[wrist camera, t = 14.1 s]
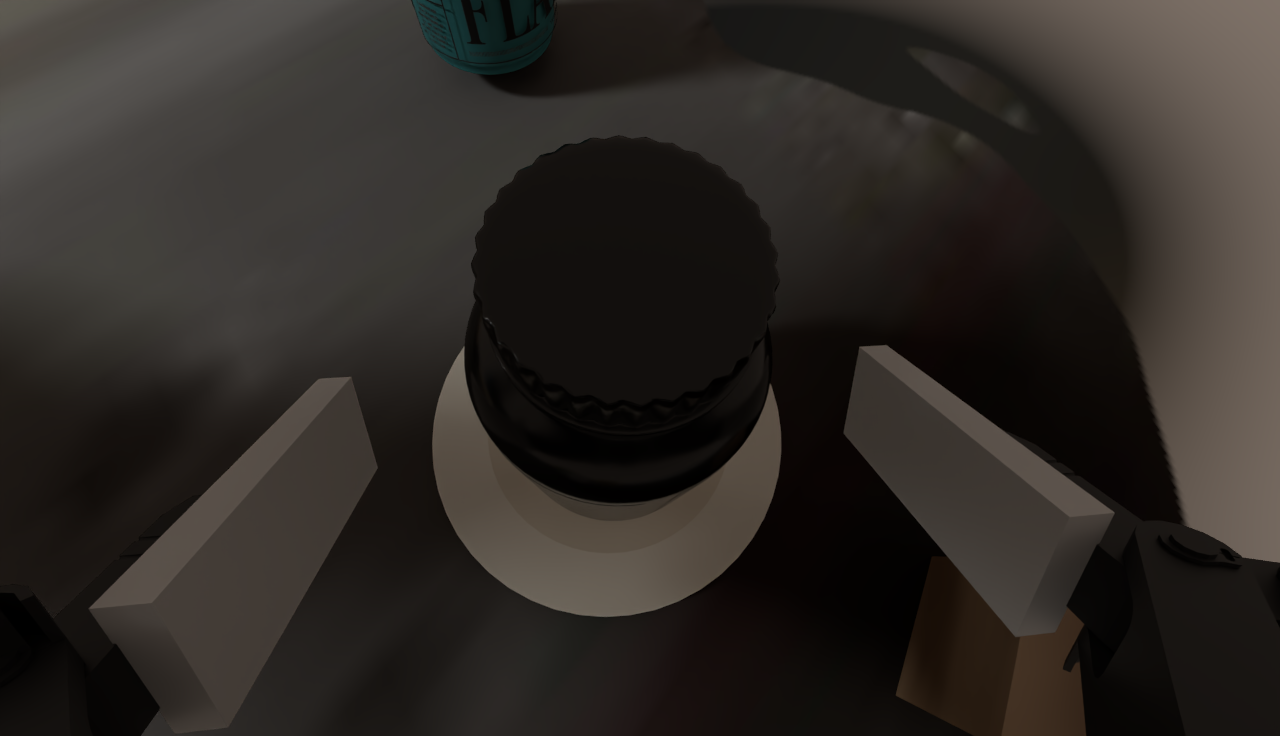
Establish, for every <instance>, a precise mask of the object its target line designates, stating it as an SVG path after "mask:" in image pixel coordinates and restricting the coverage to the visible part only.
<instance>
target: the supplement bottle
mask: <svg viewBox="0 0 1280 736" xmlns="http://www.w3.org/2000/svg"><path fill="white" fill-rule="evenodd" d="M475 242H476V248H477V251H476V253H475V255H474V257H473V260H472V262H471V268H472V271H473V274H474V276H475V278H476V280H475V284H474V290H473V293H474V298H475V300H476V301H475V304H474V306H473V308H472V312H471V315H470V318H469V321H468V326H467V331H466V336H465V346H464V368H465V376H466V383H467V387H468V391H469V395H470V399H471V401H472V404H473V407H474V410H475V412H476V414H477V416H478V418H479V420H480V422H481V424H482V426H483V428H484V429H485V431H486V432H487V434H488V436H489V437H490V439H491V440H492V442H493V443H494V444H495V446H496V447H497V448H498V449H499V451H500V452H501V453H502V454H503V455H504V456H505V457H506V459H507V460H508V461H509V462H510V463H511V464H512V465H513V466H514V467H515V468H516V469H518V470H519V471H520V472H521V473H522V474H523V475H524V476H526V477H527V478H528V479H529V480H530V481H531V482H532V483H533V484H535V485H536V486H537V487H538V488H539V489H540V490H541V491H543V492H544V493H545V494H546V495H547V496H548V497H550V498H551V499H552V500H553V501H555V502H556V503H558V504H559V505H561V506H562V507H564V508H566V509H568V510H569V511H571V512H573V513H576V514H578V515H581V516H584V517H587V518H591V519H596V520H603V521H623V520H631V519H635V518H639V517H642V516H645V515H648V514H651V513H653V512H655V511H657V510H659V509H661V508H663V507H665V506H667V505H668V504H670V503H671V502H673V501H675V500H676V499H678V498H679V497H681V496H682V495H684V494H685V493H687V492H689V491H690V490H692V489H693V488H695V487H696V486H698V485H699V484H701V483H703V482H704V481H705V480H707V479H708V478H709V477H711V476H712V475H713V474H715V473H716V472H717V471H719V470H720V469H721V468H722V467H723V466H724V465H725V464H726V463H727V462H728V461H729V460H730V459H731V458H732V457H733V456H734V455H735V454H736V452H737V451H738V450H739V449H740V448H741V447H742V446H743V444H744V443H745V441H746V440H747V438H748V437H749V436H750V434H751V433H752V431H753V429H754V427H755V425H756V424H757V422H758V420H759V418H760V415H761V413H762V411H763V408H764V405H765V402H766V399H767V395H768V391H769V386H770V381H771V374H772V345H771V336H770V332H769V327H768V323H767V321H768V320H769V318H770V317H771V316H772V314H773V313H774V311H775V308H776V299H775V291H776V289H777V287H778V285H779V281H780V278H779V274H778V271H777V269H776V266H775V264H776V261H777V256H778V252H777V250H776V248H775V247H774V245H773V244H772V242H771V228H770V227H769V226H768V224H767V223H766V222H765V221H764V220H763V219H762V218H761V216H760V210H759V206H758V204H756V203H755V202H754V201H753V200H752V199H750V198H749V197H748V196H747V195H746V193H745V190H744V188H743V186H742V184H740V183H738V182H737V181H735V180H733V179H731V178H729V177H728V176H727V174H726V172H725V171H724V170H723V168H722V167H720V166H718V165H715V164H712V163H709V162H707V161H706V160H705V159H704V158H703V157H702V156H701V155H700V154H699V153H696V152H691V151H685V150H683V149H681V148H680V147H679V146H677V145H675V144H674V143H659V142H657V141H654V140H652V139H650V138H647V137H641V138H634V139H631V138H627V137H624V136H620V135H618V136H614V137H611V138H608V139H600V138H590V139H587V140H585V141H583V142H581V143H579V144H564V145H563V146H561V147H560V148H559V149H557V150H556V151H555V152H552V153H547V154H543V155H540V156H539V157H538V158H537V159H536V160H535V162H534V163H533V164H532V165H530V166H528V167H525V168H523V169H521V170H519V171H518V172H517V173H516V175H515V177H514V179H513V181H512V182H511V183H509V184H507V185H506V186H504V187H503V188H501V189H500V190H499V192H498V195H497V200H496V202H495V203H494V204H493V205H491V206H490V207H489V208H488V209H487V210H486V211H485V214H484V225H483V227H482V228H481V229H480V230H479V232H478V233H477V235H476V236H475Z"/></svg>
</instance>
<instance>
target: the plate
mask: <svg viewBox="0 0 1280 736" xmlns="http://www.w3.org/2000/svg"><path fill="white" fill-rule="evenodd" d="M432 451H433V467H434V473H435V478H436V483H437V488H438V492H439V495H440V497H441V500H442V503H443V506H444V509H445V512H446V514H447V516H448V518H449V520H450V522H451V524H452V526H453V528H454V529H455V531H456V533H457V535H458V536H459V538H460V539H461V541H462V542H463V543H464V545H465V546H466V548H467V549H468V550H469V552H470V553H471V555H472V556H473V557H474V558H475V559H476V560H477V561H478V562H479V563H480V564H481V565H482V566H483V567H484V568H485V569H486V570H487V571H488V572H489V573H490V574H491V575H493V576H494V577H495V578H497V579H498V580H499V581H500V582H502V583H503V584H504V585H506V586H507V587H508V588H510V589H512V590H513V591H515V592H517V593H519V594H520V595H522V596H524V597H526V598H528V599H529V600H531V601H534V602H537V603H539V604H542V605H544V606H547V607H549V608H552V609H555V610H559V611H564V612H568V613H573V614H577V615H586V616H598V617H612V616H627V615H634V614H639V613H643V612H648V611H653V610H656V609H659V608H662V607H664V606H667V605H670V604H673V603H675V602H678V601H680V600H682V599H684V598H686V597H687V596H689V595H691V594H693V593H695V592H697V591H699V590H700V589H702V588H703V587H705V586H706V585H707V584H709V583H710V582H711V581H713V580H714V579H715V578H717V577H718V576H720V575H721V574H722V573H723V572H724V571H725V570H726V569H727V568H728V567H729V566H730V565H731V564H732V563H733V562H734V561H735V560H736V559H737V558H738V557H739V556H740V554H741V553H742V552H743V550H744V549H745V548H746V547H747V545H748V544H749V543H750V541H751V540H752V539H753V537H754V535H755V533H756V532H757V530H758V528H759V527H760V525H761V523H762V521H763V520H764V518H765V515H766V513H767V510H768V508H769V505H770V503H771V500H772V498H773V494H774V491H775V487H776V483H777V479H778V475H779V467H780V458H781V428H780V421H779V414H778V408H777V404H776V400H775V397H774V393H773V390H772V387H771V384H770V386H769V391H768V395H767V399H766V402H765V405H764V408H763V411H762V413H761V415H760V418H759V420H758V422H757V424H756V425H755V427H754V429H753V431H752V433H751V434H750V436H749V437H748V438H747V440H746V441H745V443H744V444H743V446H742V447H741V448H740V449H739V450H738V451H737V452H736V454H735V455H734V456H733V457H732V458H731V459H730V460H729V461H728V462H727V463H726V464H725V465H724V466H723V467H722V468H721V469H720V470H719V471H717V472H716V473H715V474H713V475H712V476H711V477H709V478H708V479H707V480H705V481H704V482H703V483H701V484H699V485H698V486H696V487H695V488H693V489H692V490H690V491H689V492H687V493H685V494H684V495H682V496H681V497H679V498H678V499H676V500H675V501H673V502H671V503H670V504H668V505H667V506H665V507H663V508H661V509H659V510H657V511H655V512H653V513H651V514H648V515H645V516H642V517H639V518H635V519H631V520H623V521H603V520H596V519H591V518H587V517H584V516H581V515H578V514H576V513H573V512H571V511H569V510H568V509H566V508H564V507H562V506H561V505H559V504H558V503H556V502H555V501H553V500H552V499H551V498H550V497H548V496H547V495H546V494H545V493H544V492H543V491H541V490H540V489H539V488H538V487H537V486H536V485H535V484H533V483H532V482H531V481H530V480H529V479H528V478H527V477H526V476H524V475H523V474H522V473H521V472H520V471H519V470H518V469H516V468H515V467H514V466H513V465H512V464H511V463H510V462H509V461H508V460H507V459H506V457H505V456H504V455H503V454H502V453H501V452H500V451H499V449H498V448H497V447H496V446H495V444H494V443H493V442H492V440H491V439H490V437H489V436H488V434H487V432H486V431H485V429H484V428H483V426H482V424H481V422H480V420H479V418H478V416H477V414H476V412H475V410H474V407H473V404H472V401H471V399H470V395H469V391H468V387H467V383H466V376H465V368H464V348H463V349H462V351H461V352H460V353H459V355H458V356H457V358H456V360H455V362H454V364H453V366H452V368H451V369H450V371H449V373H448V375H447V377H446V380H445V383H444V385H443V388H442V391H441V394H440V397H439V400H438V404H437V409H436V414H435V418H434V426H433V439H432Z"/></svg>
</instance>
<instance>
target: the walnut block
mask: <svg viewBox="0 0 1280 736" xmlns="http://www.w3.org/2000/svg"><path fill="white" fill-rule="evenodd" d="M1083 625H1084V623H1083V622H1082V621H1081V620H1080V619H1079V618H1078V617H1077V616H1076V615H1075V614H1074V613H1073V612H1072V611H1071V610H1070V609H1069V608H1067V610H1066V612H1065V614H1064V616H1063V618H1062V620H1061V622H1060V624H1059V626H1058V628H1057V630H1056V632H1055V633H1046V634H1037V635H1028V636H1020V637H1015V636H1014V635H1013V634H1012V632H1011V631H1010V630H1009V629H1008V628H1007V626H1006V625H1005V624H1004V623H1003V622H1002V620H1001V619H1000V618H999V617H998V616H997V615H996V613H995V612H994V611H993V610H992V609H991V607H990V606H989V605H988V604H987V603H986V602H985V600H984V599H983V598H982V597H981V596H980V594H979V593H978V592H977V591H976V590H975V588H974V587H973V586H972V585H971V584H970V583H969V581H968V580H967V579H966V578H965V577H964V575H963V574H962V573H961V572H960V571H959V570H958V568H957V567H956V566H955V565H954V564H953V562H952V561H951V560H950V559H949V558H948V557H940V556H932V558H931V562H930V566H929V570H928V573H927V577H926V581H925V585H924V589H923V593H922V596H921V600H920V604H919V608H918V612H917V616H916V619H915V623H914V627H913V631H912V635H911V639H910V642H909V646H908V650H907V654H906V658H905V661H904V665H903V669H902V673H901V677H900V681H899V684H898V688H897V692H896V696H898V697H900V698H902V699H904V700H906V701H908V702H909V703H911V704H913V705H915V706H917V707H919V708H921V709H923V710H925V711H927V712H929V713H931V714H933V715H935V716H937V717H939V718H941V719H942V720H944V721H946V722H948V723H950V724H952V725H954V726H956V727H958V728H960V729H962V730H964V731H966V732H968V733H970V734H972V735H974V736H1086V727H1085V716H1084V705H1083V694H1082V683H1081V672H1080V662H1078V663H1075V665H1074V667H1073V669H1072V670H1071V672H1068V671H1065V670H1063V666H1064V662H1065V659H1066V658H1067V656H1068V654H1069V652H1070V650H1071V648H1072V646H1073V644H1074V642H1075V641H1076V639H1077V637H1078V635H1079V633H1080V631H1081V629H1082V627H1083Z"/></svg>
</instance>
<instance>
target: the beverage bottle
mask: <svg viewBox="0 0 1280 736" xmlns="http://www.w3.org/2000/svg"><path fill="white" fill-rule="evenodd" d="M411 1H412V4H413V6H414V9H415V11H416V14H417V17H418V20H419V23H420V26H421V29H422V32H423V35H425V36H424V37H426V38H425V39H427V40H426V41H427V42H429V43H430V44H429V45H431V46H432V48H433V49H434V51H435V52H436V53H437V54H438V55H439V56H440V57H441V58H442V59H443V60H445V61H446V62H447V63H449V64H451V65H452V66H454V67H457V68H459V69H461V70H464V71H467V72H472V73H477V74H488V75H493V74H504V73H509V72H513V71H516V70H519V69H521V68H523V67H525V66H527V65H529V64H531V63H532V62H534V61H535V60H536V59H538V58H539V57H540V56H541V55H542V54H543V53H544V51H545V50H546V48H547V47H548V45H549V43H550V41H551V37H552V33H553V30H554V28H555V26H554V17H555V16H554V14H555V13H556V12H554V7H553V5H554V1H555V0H411ZM556 5H557V2H556ZM555 11H556V8H555ZM556 21H557V19H556ZM555 25H556V23H555ZM553 27H554V28H553Z"/></svg>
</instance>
